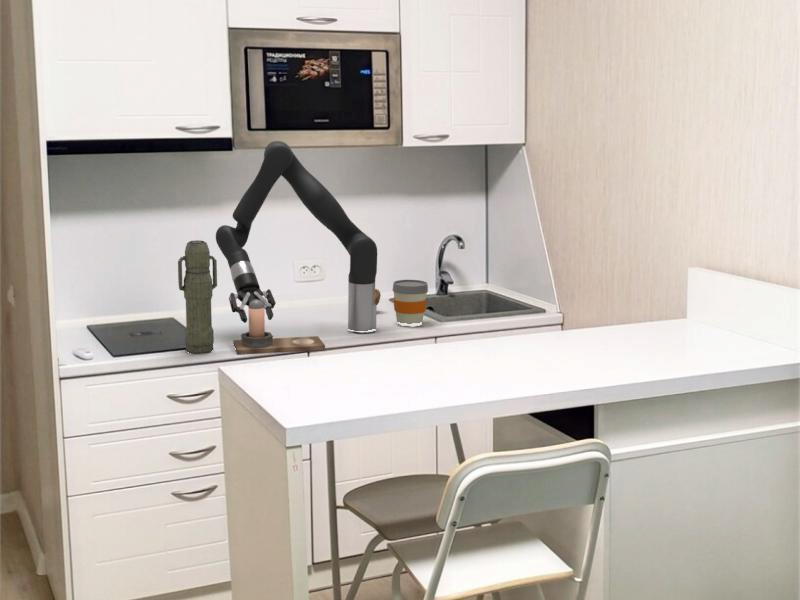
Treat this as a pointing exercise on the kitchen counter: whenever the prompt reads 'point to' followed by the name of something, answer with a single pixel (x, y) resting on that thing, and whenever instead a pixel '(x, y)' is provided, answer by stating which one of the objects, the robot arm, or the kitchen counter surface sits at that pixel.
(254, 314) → the round-topped orange cylinder
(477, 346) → the kitchen counter surface
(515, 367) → the kitchen counter surface
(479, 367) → the kitchen counter surface
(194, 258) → the thermos
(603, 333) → the kitchen counter surface
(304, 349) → the jig
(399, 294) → the reusable coffee cup
